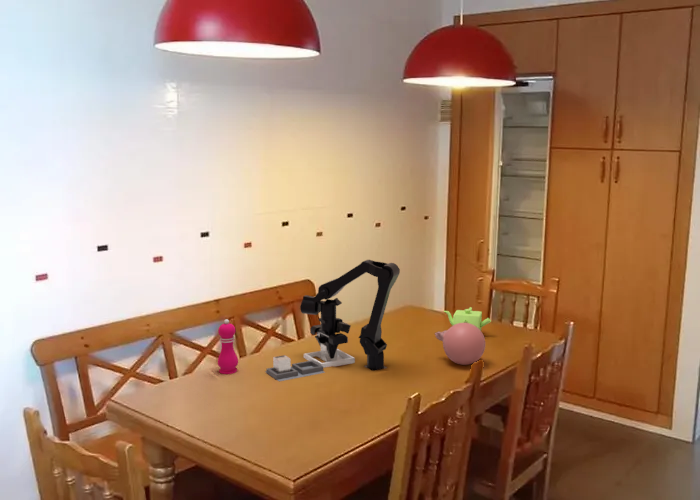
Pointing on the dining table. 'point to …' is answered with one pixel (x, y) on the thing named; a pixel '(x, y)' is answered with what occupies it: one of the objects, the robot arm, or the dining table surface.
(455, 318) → the kettle
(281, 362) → the block
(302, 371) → the plate
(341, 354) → the white square tray
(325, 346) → the billet loose
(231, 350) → the pepper mill
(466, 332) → the balloon
